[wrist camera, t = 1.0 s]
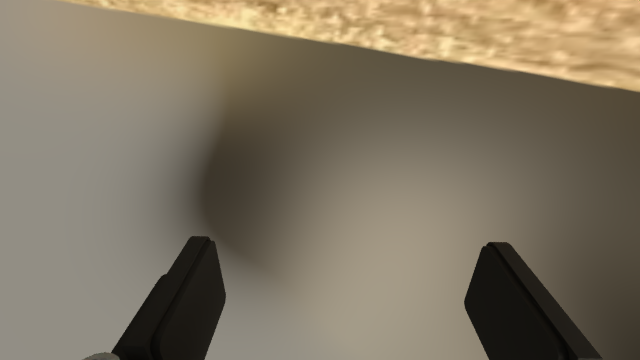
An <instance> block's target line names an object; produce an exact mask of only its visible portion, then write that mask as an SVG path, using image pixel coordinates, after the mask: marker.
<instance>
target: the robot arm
mask: <svg viewBox="0 0 640 360" xmlns="http://www.w3.org/2000/svg"><path fill="white" fill-rule="evenodd" d="M225 298H226V293H225V289H224V283H223V278H222V274H221V269H220V264H219V259H218V254H217V249H216V245H215V242H214V241H211V240H210V238H209V237H205V236H201V237H200V236H192V237H190V239H189V240H188V241H187V243H186V245H185V246H184V248H183V249H182V251H181V253H180V254H179V256H178V257H177V259H176V260H175V262H174V264H173V265H172V267H171V268H170V270H169V271H168V273H167V274H165V275H163V276H161V278H160V279H159V280H158V282H157V283H156V284H155V286H154V288H153V289H152V291H151V292H150V294H149V295H148V297H147V298H146V300H145V301H144V303H143V304H142V306H141V307H140V309H139V311H138V312H137V314H136V315H135V317H134V318H133V320H132V321H131V323H130V324H129V326H128V327H127V329H126V330H125V332H124V333H123V335H122V337H121V338H120V340H119V341H118V343H117V344H116V346H115V347H114V349H113V350H112V352H111V353H106V352H104V353H98V354H94V355H92V356H89V357H87V358H85V359H83V360H204V359H205V356H206V354H207V351H208V348H209V345H210V343H211V340H212V337H213V335H214V332H215V329H216V326H217V324H218V320H219V318H220V315H221V313H222V310H223V307H224V304H225ZM464 304H465V309H466V311H467V314H468V316H469V318H470V320H471V322H472V324H473V326H474V328H475V331H476V333H477V335H478V337H479V339H480V341H481V343H482V345H483V348H484V350H485V352H486V354H487V356H488V358H489V360H602V357H601V356H600V355H599V354H598V352H597V351H596V350H595V349H594V347H593V346H592V345H591V344H590V343H589V341H588V340H587V339H586V338H585V336H584V335H583V334H582V333H581V331H580V330H579V329H578V328H577V326H576V325H575V324H574V323H573V322H572V320H571V319H570V318H569V316H568V315H567V314H566V313H565V312H564V310H563V309H562V308H561V307H560V305H559V304H558V303H557V302H556V300H555V299H554V298H553V297H552V295H551V294H550V293H549V292H548V290H547V289H546V288H545V287H544V286H543V284H542V283H541V282H540V281H539V279H538V278H537V277H536V276H535V274H534V273H533V272H532V271H531V269H530V268H529V267H528V266H527V265H526V263H525V262H524V261H523V260H522V259H521V257H520V256H519V255H518V253H517V252H516V251H515V250H514V248H513V247H512V246H511V245H510V244H509V243H507V242H489V243H488V244H487V245H486V246H483V248H482V249H481V252H480V255H479V258H478V261H477V264H476V267H475V270H474V273H473V276H472V279H471V282H470V285H469V288H468V291H467V294H466V297H465V301H464Z"/></svg>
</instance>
